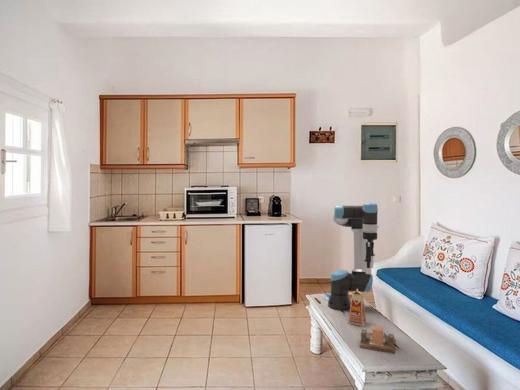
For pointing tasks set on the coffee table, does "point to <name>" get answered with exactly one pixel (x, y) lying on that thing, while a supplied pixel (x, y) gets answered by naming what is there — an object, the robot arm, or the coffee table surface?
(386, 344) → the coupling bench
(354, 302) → the milk carton
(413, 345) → the coffee table surface
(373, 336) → the block
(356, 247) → the robot arm
